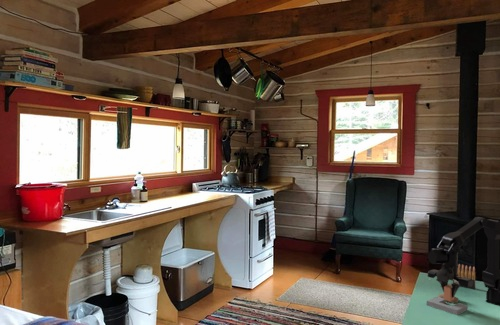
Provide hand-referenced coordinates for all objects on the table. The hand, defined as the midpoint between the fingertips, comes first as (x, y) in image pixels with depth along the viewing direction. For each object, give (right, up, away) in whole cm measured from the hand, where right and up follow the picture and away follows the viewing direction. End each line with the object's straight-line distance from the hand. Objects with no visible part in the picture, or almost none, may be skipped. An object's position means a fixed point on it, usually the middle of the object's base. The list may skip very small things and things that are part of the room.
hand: (449, 296), depth 190 cm
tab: (0, -1, 0) cm, 2 cm away
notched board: (-1, -5, -1) cm, 5 cm away
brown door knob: (+4, -5, +10) cm, 12 cm away
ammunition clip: (+23, -5, +30) cm, 38 cm away
